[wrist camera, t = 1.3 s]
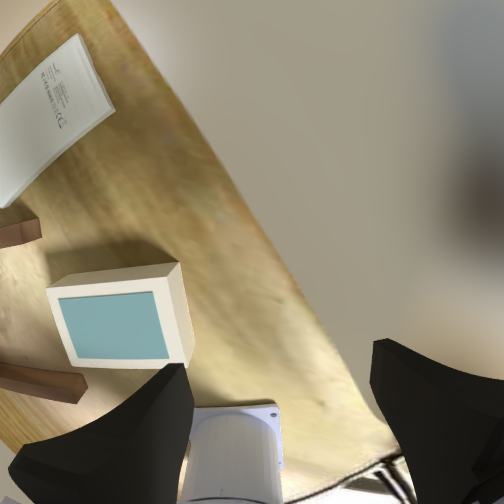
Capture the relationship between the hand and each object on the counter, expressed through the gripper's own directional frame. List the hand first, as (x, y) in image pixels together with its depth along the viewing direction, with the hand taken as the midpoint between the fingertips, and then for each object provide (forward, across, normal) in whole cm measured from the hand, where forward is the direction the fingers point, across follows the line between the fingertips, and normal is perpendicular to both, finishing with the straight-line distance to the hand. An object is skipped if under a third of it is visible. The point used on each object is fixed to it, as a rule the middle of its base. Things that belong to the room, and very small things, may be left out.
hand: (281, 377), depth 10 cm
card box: (+10, +10, 0) cm, 14 cm away
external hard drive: (+10, +16, -15) cm, 24 cm away
